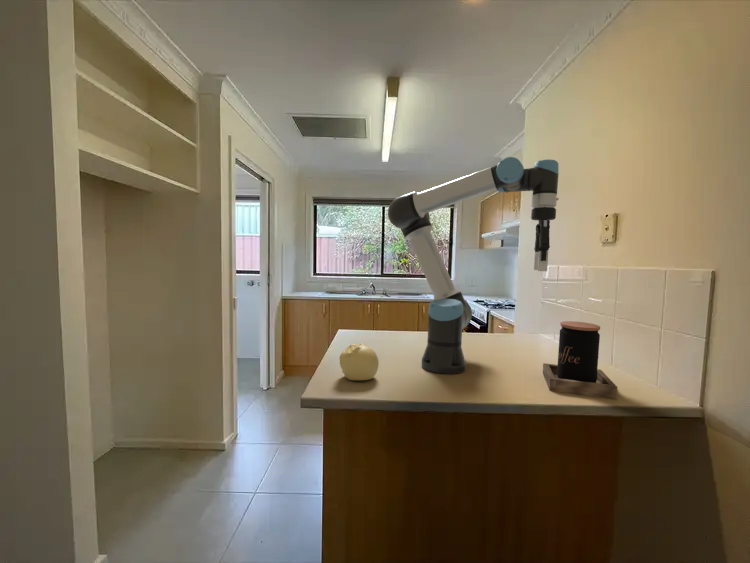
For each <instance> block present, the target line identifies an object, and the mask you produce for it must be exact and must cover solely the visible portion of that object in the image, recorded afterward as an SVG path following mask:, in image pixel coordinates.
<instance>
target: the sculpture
mask: <svg viewBox="0 0 750 563" xmlns="http://www.w3.org/2000/svg"><path fill="white" fill-rule="evenodd" d="M339 366H340V368H341V372H342V374H343V375H344V377H345V378H347V380H350V381H369V380H372V379H373V378H374V377H375V376H376V375H377V372H378V369H379V357H378V355H377V353H376V351H375V350H374V349H373V348H372V347H370V346H368V345H365V343H351V344H350V345H349V346H347V347H346V348H345V349H344V350H343V351H342V352H341V353H340V355H339Z"/></svg>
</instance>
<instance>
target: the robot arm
mask: <svg viewBox="0 0 750 563" xmlns="http://www.w3.org/2000/svg"><path fill="white" fill-rule="evenodd" d="M558 185H559V162H558V161H557V160H555V159H541V160H537V161H536V162H535V163H534V166H533V167H531V168H530V167H529V168H524V165H523V163H522V162H521V161H520V160H519V158H516V157H513V156H507V157H505V158H503V159H501V160H500V161H499V162H498V163H497V164H496V165H493V166H490V167H487V168H485V169H482V170H479V171H476V172H473V173H470V174H468V175H465V176H462V177H459V178H457V179H454V180H451V181H448V182H445V183H443V184H440V185H438V186H434V187H432V188H429V189H426V190H423V191H421V192H418V191H415V190H414V191H412V192H409V193H407V194H403V195H400V196H399V197H396V198H395V199H393V200H392V201H391V203H390V204H389V206H388V210H387V217H388V220H389V222H390V223H391V224H392V225H393V226H394V227H395V228H398V229H400V230H401V233H402V235H403V238H404V240H406V241H408V242H410V244H411V247H412V248H413V251H414V253H415V255H416V258H417V260H418V263H419V265H420V268H421V269H422V272H423V274H424V277H425V280H426V281H427V284H428V286H429V289H430V290H431V294H432V295H433V300H431V301H430V303H429V304H428V309H427V314H428V316H427V318H428V319H427V321H428V322H427V344H426V347H425V349H424V353H423V355H422V357H421V368H422V369H424V370H426V371H428V372H432V373H437V374H444V375H445V374H447V375H452V374H453V375H454V374H461V373H464V372H465V371H466V360H465V356H464V352H463V349H462V343H463V342H462V338H463V330H464V329H465V328H466V327H468V326H469V324H470V323H471V321H472V317H473V311H472V310H473V309H472V308H471V305H470V304H469V303H468V302H467V301H466V300H465V298H464V296H463V293H462V291H461V290H459V289H457V288H456V287H455V285H454V283H453V281H452V278H451V276H450V274H449V272H448V269H447V267H446V265H445V262H444V260H443V258H442V256H441V253H440V251H439V249H438V246H437V244H436V242H435V240H434V238H433V235H432V233H431V232H432V230H433V225H432V223H431V220H430V218H431V216H430V213H432V212H434V211H437V210H441V209H443V208H446V207H449V206H452V205H455V204H458V203H461V202H465V201H467V200H470V199H474V198H475V197H476V198H477V197H479V196H482V195H484V194H487V193H491V192H494V191H497V192H498V193H517V192H532V196H531V207H532V209H531V216H530V219H531V220H532V221H538V223H537V224H536V225H535V242H534V248H533V249H534V258H533V259H534V260H533V271H537V272H548V263H549V262H548V261H549V249H550V247H551V246H550V228H551V224H550V223H551V222H550V221H553V220H556V216H557V209H556V208H555V207H557V201H559V197H558Z"/></svg>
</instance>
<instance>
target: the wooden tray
mask: <svg viewBox="0 0 750 563" xmlns="http://www.w3.org/2000/svg"><path fill="white" fill-rule="evenodd" d="M542 365H543V366H542V375H543V378H544V380H545V382H546V385H547V389H548V390H549V391H552V392H557V391H558V393H565V394H574V395H581V396H589V397H596V398H604V399H611V400H617V398H618V386H617V385H616V384H615V383H614V382H613V381H612V380H611V379H610V378H609V377H608V376H607V374H606V373H605V372H604V371H603V370H602V369H598V368H597V381H596V383H592V382H584V381H576V380H568V379H560V378H558V376H557V367H558V364H556V363H555V364H553V363H546V362H545V363H544V362H543V364H542Z"/></svg>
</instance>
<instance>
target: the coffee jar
mask: <svg viewBox="0 0 750 563" xmlns="http://www.w3.org/2000/svg"><path fill="white" fill-rule="evenodd" d="M559 324H560V327H561V328H560V329H559V337H558V338H559V339H558V353H557V354H558V355H557V365H558V367H557V376H558V378H560V379H568V380H576V381H584V382H592V383H596V381H597V369H598V365H599V364H598V363H599V351H600V336H601V335H600V333H599V331H600V330H601V326H600V325H597V324H595V323H591V322H582V321H568V320H565V321H561V322H560V323H559Z"/></svg>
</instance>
